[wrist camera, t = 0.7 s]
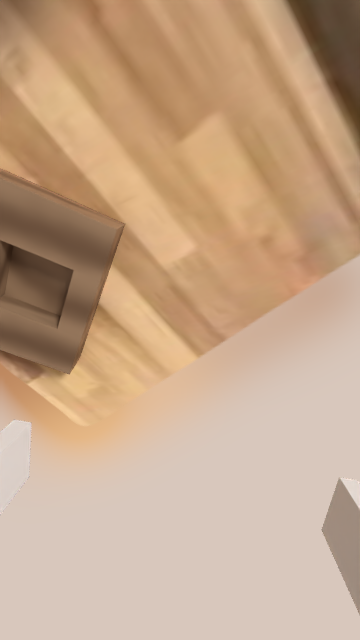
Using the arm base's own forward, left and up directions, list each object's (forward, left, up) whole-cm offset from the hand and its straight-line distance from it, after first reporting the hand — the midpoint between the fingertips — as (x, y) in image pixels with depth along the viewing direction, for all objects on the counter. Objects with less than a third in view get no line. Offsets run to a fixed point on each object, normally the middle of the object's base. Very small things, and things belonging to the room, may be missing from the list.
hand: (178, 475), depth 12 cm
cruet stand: (+7, -16, -26) cm, 32 cm away
